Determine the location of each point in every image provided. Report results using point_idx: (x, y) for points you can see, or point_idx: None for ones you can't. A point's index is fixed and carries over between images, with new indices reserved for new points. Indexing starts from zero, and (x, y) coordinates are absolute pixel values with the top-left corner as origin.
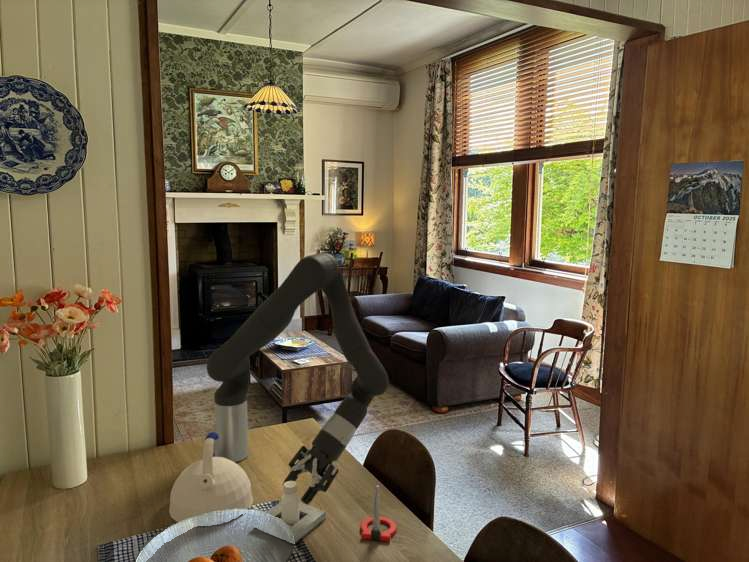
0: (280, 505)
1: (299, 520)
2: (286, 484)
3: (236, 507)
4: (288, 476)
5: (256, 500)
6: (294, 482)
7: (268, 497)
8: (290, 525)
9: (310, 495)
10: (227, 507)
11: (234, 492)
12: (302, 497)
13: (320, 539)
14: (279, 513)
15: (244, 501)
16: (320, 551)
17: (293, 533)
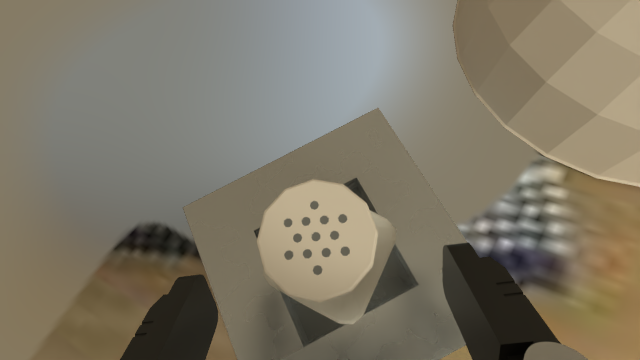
0: None
1: None
2: (328, 206)
3: (493, 60)
4: (497, 296)
5: (597, 196)
6: (322, 283)
7: (609, 257)
8: None
9: (134, 340)
10: (483, 12)
11: (546, 4)
12: (187, 284)
13: None
14: None
15: (529, 96)
16: (109, 286)
17: (203, 215)
